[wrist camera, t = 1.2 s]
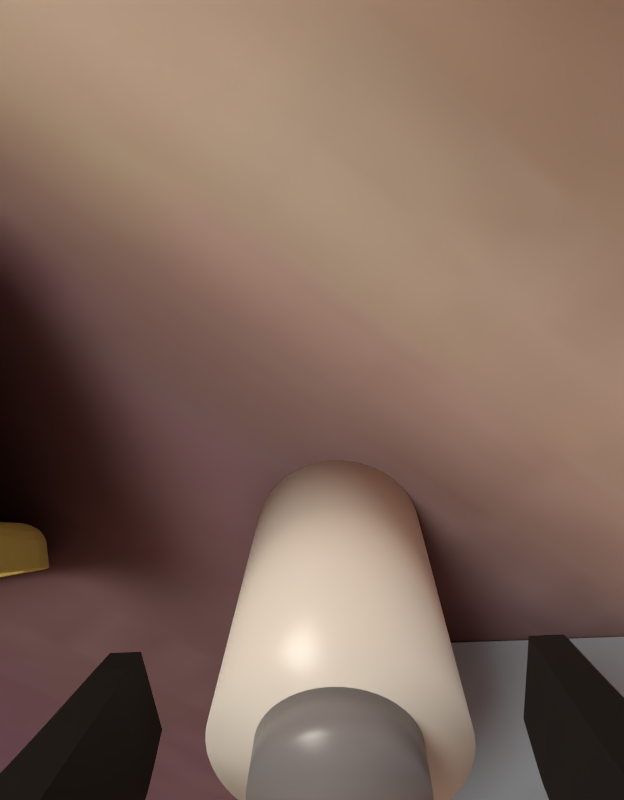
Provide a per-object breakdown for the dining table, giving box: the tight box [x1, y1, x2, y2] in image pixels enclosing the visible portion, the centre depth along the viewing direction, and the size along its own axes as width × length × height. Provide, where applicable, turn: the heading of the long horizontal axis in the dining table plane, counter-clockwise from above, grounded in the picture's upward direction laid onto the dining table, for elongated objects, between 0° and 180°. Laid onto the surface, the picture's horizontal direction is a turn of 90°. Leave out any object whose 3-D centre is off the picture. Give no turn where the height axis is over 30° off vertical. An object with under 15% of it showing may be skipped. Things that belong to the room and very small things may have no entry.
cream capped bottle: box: [205, 461, 476, 800], centre depth 11 cm, size 4×4×7 cm
